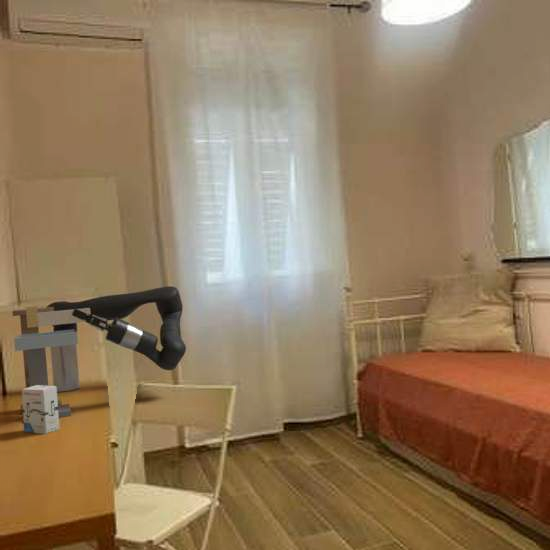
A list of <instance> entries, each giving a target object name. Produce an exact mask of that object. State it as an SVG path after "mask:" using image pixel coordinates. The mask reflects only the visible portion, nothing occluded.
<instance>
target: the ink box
mask: <svg viewBox="0 0 550 550" xmlns="http://www.w3.org/2000/svg"><path fill="white" fill-rule="evenodd" d="M21 396H22V398H21V399H22V401H21V402H22V405H23V414H22V415H23V432H24V433H31V434H32V433H33V434H42V435H43V434H44V435H47V434H49V432H50V433H53V432H55V430H56V431H58V429H59V430H60V420H59V419H60V418H59V416H58V401H57V399H58V392H57V387H56V386H53V385H48V386H45V385H35V386H32V387H28V388H26V387H25V388H22V389H21ZM52 431H53V432H52Z"/></svg>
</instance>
